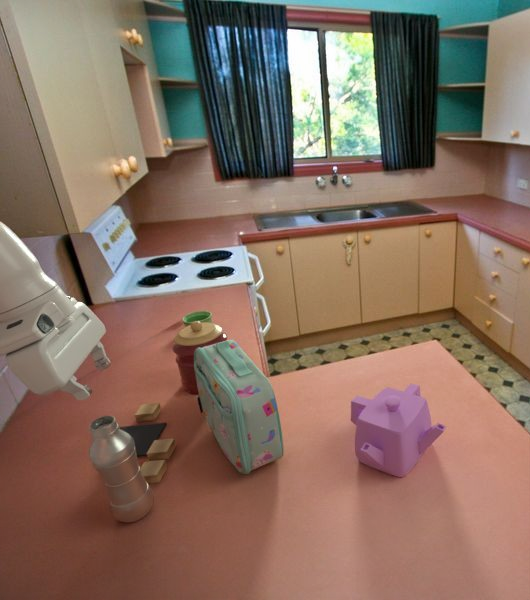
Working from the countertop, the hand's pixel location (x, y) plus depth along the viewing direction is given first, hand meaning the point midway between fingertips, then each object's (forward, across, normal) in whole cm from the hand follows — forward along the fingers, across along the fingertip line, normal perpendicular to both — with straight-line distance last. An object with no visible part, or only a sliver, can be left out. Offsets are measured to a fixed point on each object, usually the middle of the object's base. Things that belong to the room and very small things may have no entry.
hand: (96, 381), depth 72 cm
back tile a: (+22, -23, -10) cm, 33 cm away
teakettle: (+38, +7, +40) cm, 56 cm away
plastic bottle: (+23, +7, -6) cm, 25 cm away
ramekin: (+23, -68, -4) cm, 72 cm away
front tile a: (+23, -2, -5) cm, 24 cm away
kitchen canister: (+25, -34, +2) cm, 42 cm away
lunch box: (+29, -7, +11) cm, 31 cm away
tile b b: (+24, -8, -4) cm, 25 cm away
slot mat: (+21, -14, -11) cm, 28 cm away
